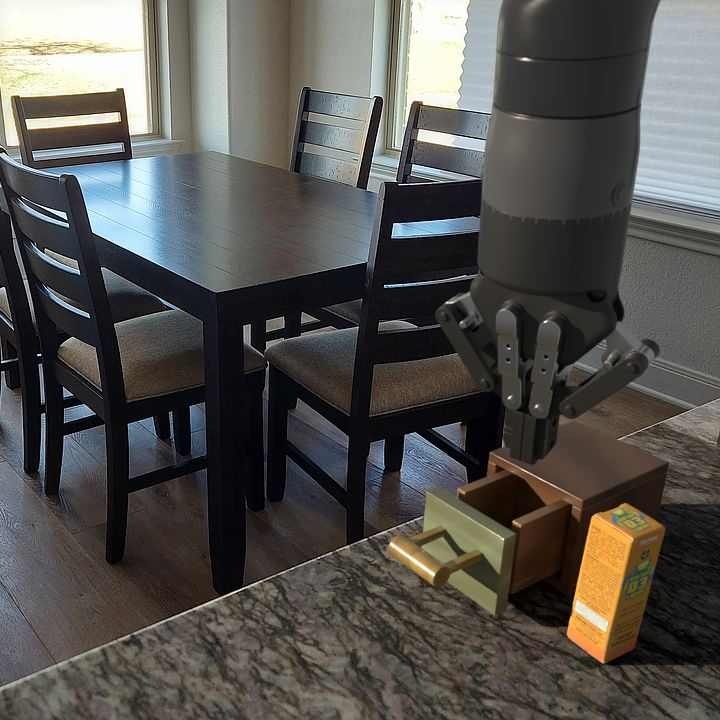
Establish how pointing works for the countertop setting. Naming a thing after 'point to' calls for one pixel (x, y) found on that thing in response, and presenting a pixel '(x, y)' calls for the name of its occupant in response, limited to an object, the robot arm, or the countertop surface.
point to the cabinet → (589, 484)
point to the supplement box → (614, 581)
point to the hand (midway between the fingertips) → (527, 455)
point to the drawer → (488, 538)
